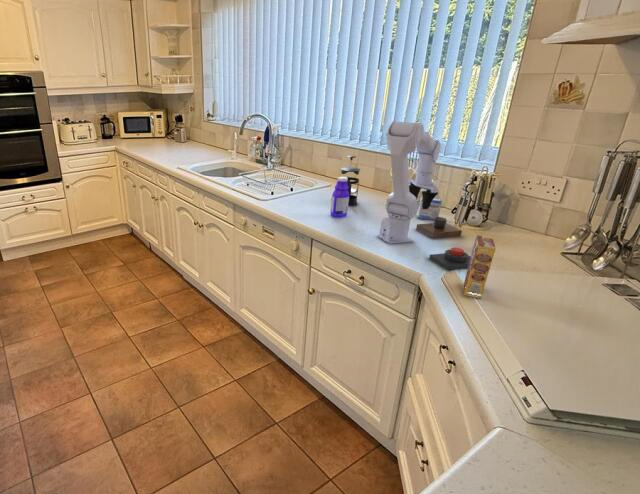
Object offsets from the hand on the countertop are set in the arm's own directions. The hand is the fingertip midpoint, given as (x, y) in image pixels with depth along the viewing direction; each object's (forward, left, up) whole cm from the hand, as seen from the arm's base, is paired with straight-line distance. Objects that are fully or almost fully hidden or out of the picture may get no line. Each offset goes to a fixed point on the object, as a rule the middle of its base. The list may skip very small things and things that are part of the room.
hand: (418, 205), depth 155 cm
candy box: (-16, -49, -10) cm, 52 cm away
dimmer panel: (+5, -7, -9) cm, 13 cm away
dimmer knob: (+5, -7, -7) cm, 11 cm away
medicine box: (+13, +10, -10) cm, 19 cm away
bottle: (-23, +21, -10) cm, 33 cm away
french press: (-10, +39, -10) cm, 41 cm away
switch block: (-8, -32, -9) cm, 34 cm away
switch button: (-8, -32, -6) cm, 34 cm away
